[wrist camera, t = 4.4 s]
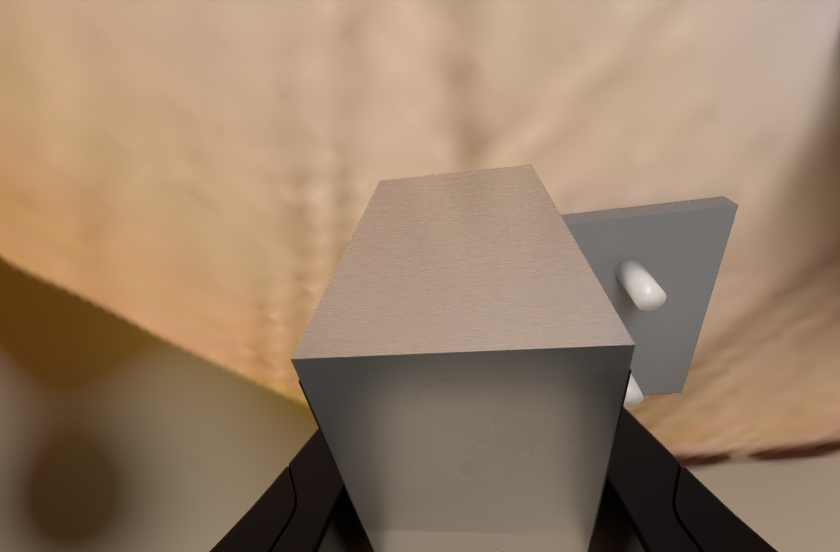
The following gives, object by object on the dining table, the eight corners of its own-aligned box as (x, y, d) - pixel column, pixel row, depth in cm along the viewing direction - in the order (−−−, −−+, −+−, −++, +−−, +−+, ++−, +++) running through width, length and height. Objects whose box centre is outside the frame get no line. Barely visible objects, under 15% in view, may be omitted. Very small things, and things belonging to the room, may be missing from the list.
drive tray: (724, 196, 17) (780, 230, 14) (673, 379, 23) (704, 429, 20) (419, 231, 19) (413, 267, 16) (448, 391, 25) (447, 438, 23)
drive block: (532, 164, 7) (638, 345, 3) (525, 425, 12) (566, 650, 7) (378, 181, 8) (288, 360, 4) (426, 426, 12) (411, 640, 8)
